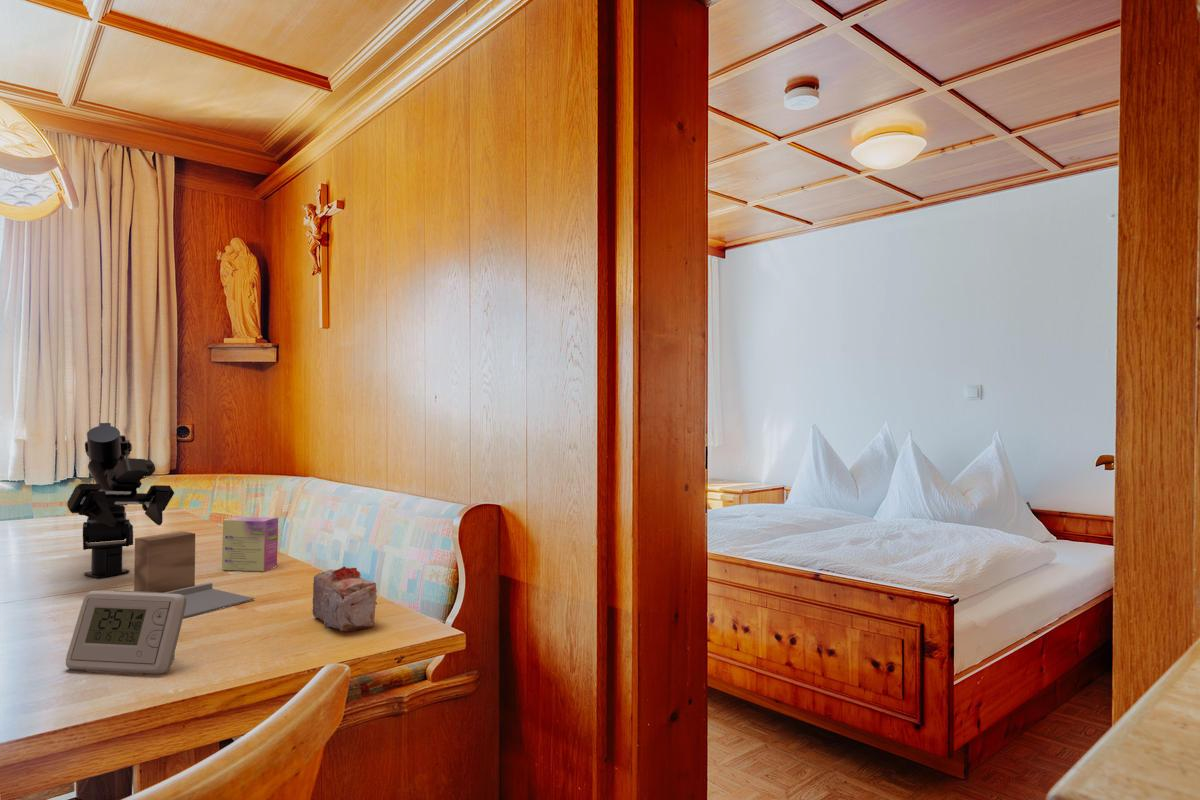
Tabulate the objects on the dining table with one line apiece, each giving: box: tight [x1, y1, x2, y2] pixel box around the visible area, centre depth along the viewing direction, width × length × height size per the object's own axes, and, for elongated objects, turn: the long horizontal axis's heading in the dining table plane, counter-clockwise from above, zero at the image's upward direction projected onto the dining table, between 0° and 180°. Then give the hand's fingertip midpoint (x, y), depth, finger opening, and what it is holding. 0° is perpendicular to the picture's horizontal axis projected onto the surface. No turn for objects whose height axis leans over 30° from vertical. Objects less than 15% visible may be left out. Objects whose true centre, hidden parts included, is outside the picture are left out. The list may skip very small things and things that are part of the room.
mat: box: [165, 582, 256, 619], centre depth 134 cm, size 15×14×2 cm
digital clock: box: [65, 590, 187, 676], centre depth 102 cm, size 16×9×11 cm, turn 72°
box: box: [221, 515, 279, 573], centre depth 163 cm, size 10×6×12 cm, turn 84°
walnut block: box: [133, 530, 196, 593], centre depth 140 cm, size 5×9×12 cm, turn 150°
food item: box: [312, 566, 378, 632], centre depth 123 cm, size 14×8×10 cm, turn 46°
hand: (138, 524), depth 144 cm, fingers open, 9 cm apart
